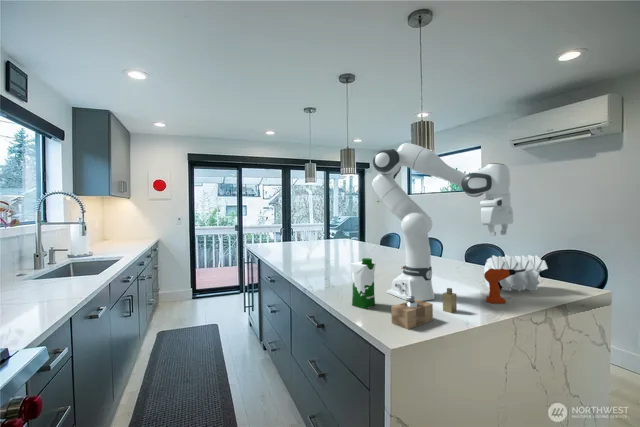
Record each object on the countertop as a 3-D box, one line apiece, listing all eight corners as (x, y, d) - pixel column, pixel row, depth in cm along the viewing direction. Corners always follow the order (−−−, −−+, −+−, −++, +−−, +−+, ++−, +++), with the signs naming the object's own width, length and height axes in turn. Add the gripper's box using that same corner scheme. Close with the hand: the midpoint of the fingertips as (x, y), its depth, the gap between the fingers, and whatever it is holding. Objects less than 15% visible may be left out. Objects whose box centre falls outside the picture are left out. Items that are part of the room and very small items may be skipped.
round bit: (405, 321, 108) (404, 296, 107) (411, 319, 110) (410, 294, 110) (414, 324, 105) (413, 298, 105) (419, 321, 107) (418, 296, 107)
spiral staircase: (483, 297, 150) (530, 293, 151) (502, 290, 134) (556, 285, 135) (472, 261, 158) (517, 258, 159) (489, 251, 142) (540, 247, 143)
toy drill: (533, 299, 127) (528, 264, 127) (490, 306, 126) (486, 271, 126) (524, 295, 132) (520, 262, 132) (483, 302, 131) (479, 268, 131)
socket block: (391, 323, 106) (391, 306, 106) (416, 315, 114) (416, 299, 114) (407, 329, 100) (407, 311, 100) (432, 320, 108) (432, 303, 108)
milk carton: (365, 310, 121) (365, 260, 120) (348, 305, 127) (347, 258, 127) (378, 305, 127) (377, 258, 127) (361, 300, 133) (360, 256, 133)
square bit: (442, 310, 118) (442, 288, 118) (448, 309, 120) (447, 286, 120) (451, 313, 115) (451, 290, 115) (456, 311, 118) (456, 288, 117)
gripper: (501, 202, 133) (501, 233, 133) (477, 202, 121) (478, 236, 121) (517, 202, 128) (517, 234, 128) (494, 201, 116) (494, 237, 116)
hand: (498, 235), depth 124 cm, fingers open, 8 cm apart
